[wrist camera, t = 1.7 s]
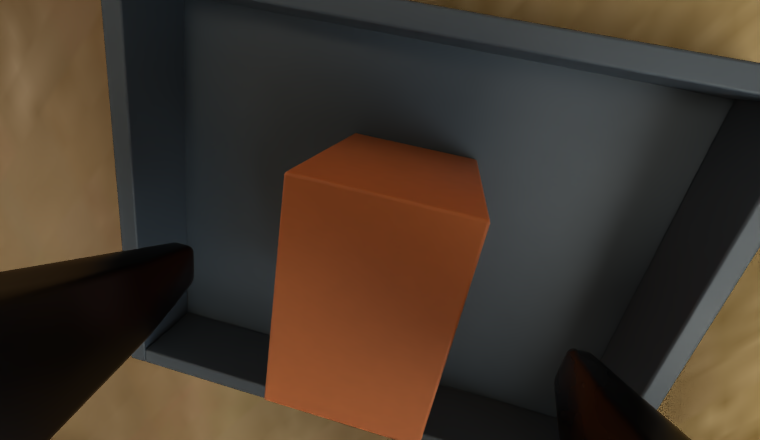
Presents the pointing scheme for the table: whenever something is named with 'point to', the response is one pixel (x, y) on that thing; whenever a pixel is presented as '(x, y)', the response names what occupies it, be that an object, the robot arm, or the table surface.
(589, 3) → the table surface
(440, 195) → the block
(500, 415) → the grey tray
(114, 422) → the table surface
